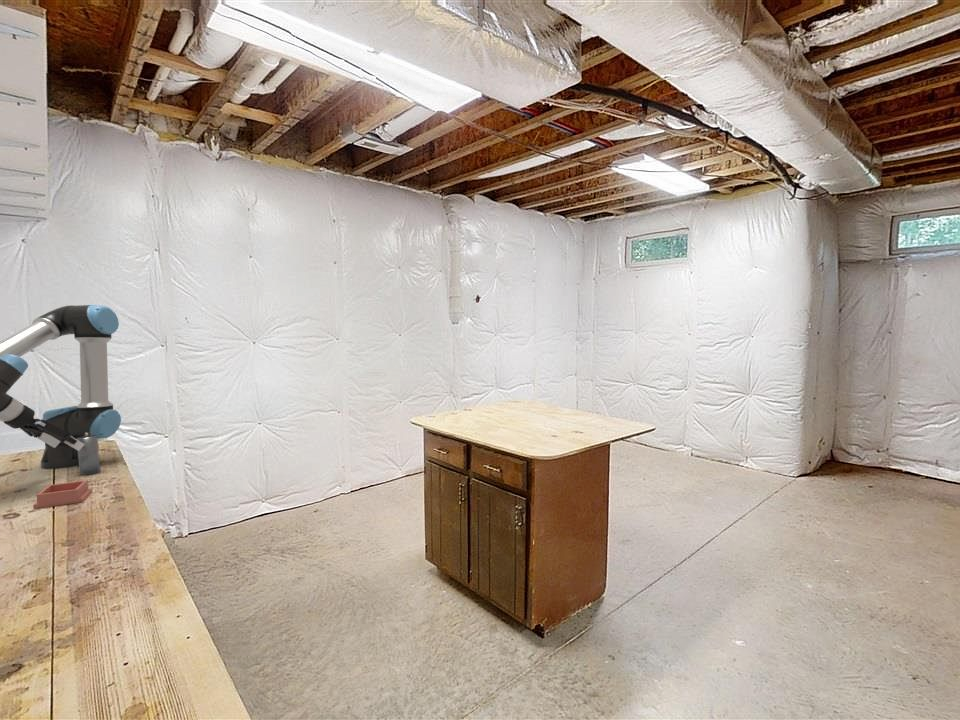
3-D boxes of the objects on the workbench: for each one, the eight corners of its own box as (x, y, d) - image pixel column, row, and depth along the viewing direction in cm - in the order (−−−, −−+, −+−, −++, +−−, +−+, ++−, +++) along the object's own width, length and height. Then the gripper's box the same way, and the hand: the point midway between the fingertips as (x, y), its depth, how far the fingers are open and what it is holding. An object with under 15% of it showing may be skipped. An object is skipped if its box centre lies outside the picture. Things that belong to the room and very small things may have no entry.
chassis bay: (46, 497, 154) (45, 485, 153) (92, 491, 159) (91, 479, 158) (33, 508, 145) (32, 495, 144) (82, 501, 150) (81, 489, 150)
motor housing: (82, 471, 180) (79, 432, 179) (102, 469, 183) (98, 430, 182) (77, 476, 175) (73, 435, 174) (97, 473, 178) (94, 433, 176)
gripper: (-19, 420, 159) (39, 452, 174) (27, 425, 150) (84, 457, 166) (0, 402, 163) (55, 434, 178) (46, 406, 155) (99, 439, 170)
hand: (69, 446), depth 172 cm, fingers open, 13 cm apart
